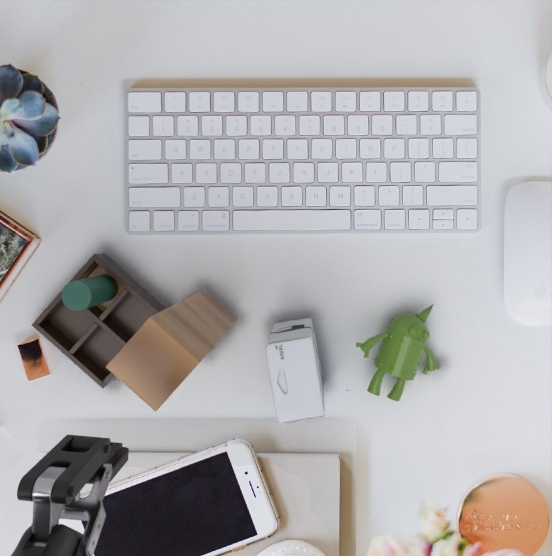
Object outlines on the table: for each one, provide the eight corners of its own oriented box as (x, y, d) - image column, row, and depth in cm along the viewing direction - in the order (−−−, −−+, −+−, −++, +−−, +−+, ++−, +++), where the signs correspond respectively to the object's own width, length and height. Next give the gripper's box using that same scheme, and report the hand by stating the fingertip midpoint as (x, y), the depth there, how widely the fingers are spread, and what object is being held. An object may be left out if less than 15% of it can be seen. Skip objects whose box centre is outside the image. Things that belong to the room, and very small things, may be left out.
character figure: (351, 395, 61) (390, 290, 61) (332, 377, 66) (367, 280, 65) (436, 414, 66) (472, 317, 65) (412, 396, 70) (445, 305, 70)
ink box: (325, 386, 68) (326, 418, 56) (284, 392, 68) (277, 426, 57) (313, 316, 68) (312, 334, 56) (272, 322, 68) (263, 342, 56)
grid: (112, 381, 69) (102, 388, 65) (43, 320, 68) (30, 325, 65) (172, 313, 68) (165, 318, 65) (104, 252, 68) (93, 253, 65)
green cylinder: (106, 307, 67) (77, 317, 59) (85, 289, 67) (54, 297, 59) (123, 287, 67) (97, 294, 59) (103, 269, 67) (74, 274, 59)
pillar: (207, 353, 68) (155, 412, 46) (173, 322, 68) (104, 367, 46) (237, 319, 68) (200, 362, 46) (203, 288, 68) (149, 316, 46)
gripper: (-126, 533, 22) (62, 404, 38) (-149, 888, 22) (46, 611, 39) (66, 551, 22) (173, 414, 38) (40, 907, 22) (156, 621, 39)
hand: (109, 513), depth 38 cm, fingers open, 8 cm apart
